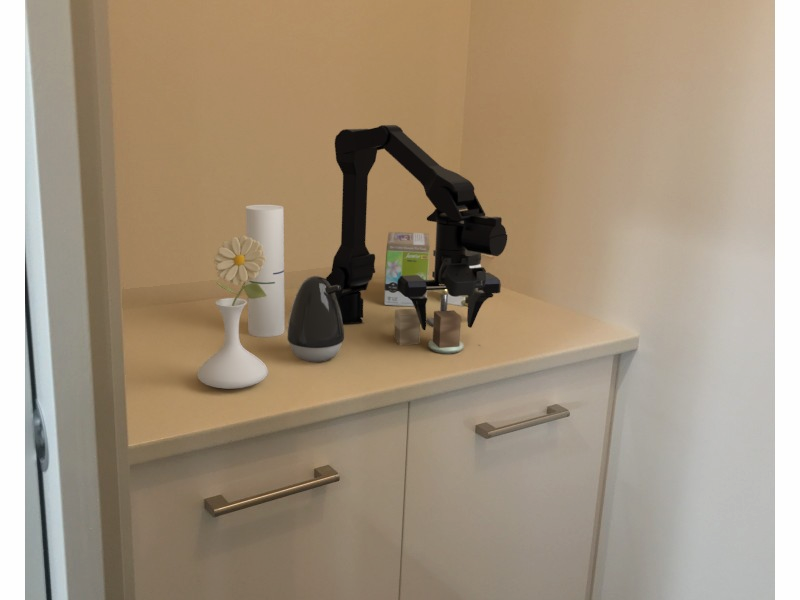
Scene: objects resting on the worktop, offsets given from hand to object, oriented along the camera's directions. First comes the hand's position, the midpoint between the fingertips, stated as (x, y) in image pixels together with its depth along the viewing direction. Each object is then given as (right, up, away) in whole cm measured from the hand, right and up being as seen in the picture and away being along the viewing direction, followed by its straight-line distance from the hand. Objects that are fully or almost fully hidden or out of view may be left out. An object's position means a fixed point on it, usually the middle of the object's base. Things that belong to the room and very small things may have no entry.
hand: (446, 328), depth 147 cm
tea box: (-8, +6, +36) cm, 37 cm away
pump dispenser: (-24, -5, -6) cm, 25 cm away
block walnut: (0, -3, +1) cm, 3 cm away
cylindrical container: (-36, -1, +8) cm, 36 cm away
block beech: (-8, -3, +5) cm, 9 cm away
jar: (+5, +5, +35) cm, 36 cm away
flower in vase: (-36, -9, -19) cm, 41 cm away
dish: (0, -4, +1) cm, 4 cm away
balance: (0, 0, +17) cm, 17 cm away
